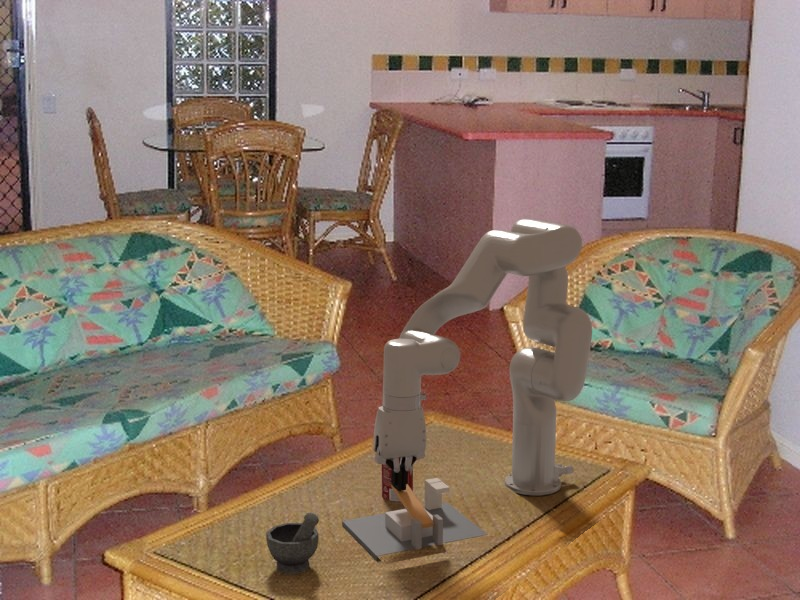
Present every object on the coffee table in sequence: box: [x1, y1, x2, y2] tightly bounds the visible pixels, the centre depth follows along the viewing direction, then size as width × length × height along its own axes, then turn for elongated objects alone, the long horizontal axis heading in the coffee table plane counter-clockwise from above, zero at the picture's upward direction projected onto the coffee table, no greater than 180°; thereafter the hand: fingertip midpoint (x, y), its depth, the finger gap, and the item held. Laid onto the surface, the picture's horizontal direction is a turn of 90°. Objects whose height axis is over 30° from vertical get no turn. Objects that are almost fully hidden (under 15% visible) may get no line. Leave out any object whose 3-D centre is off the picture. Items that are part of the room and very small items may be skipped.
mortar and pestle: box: [265, 512, 320, 575], centre depth 217 cm, size 11×9×12 cm
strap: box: [391, 484, 434, 529], centre depth 231 cm, size 3×14×1 cm, turn 24°
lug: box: [424, 477, 450, 510], centre depth 241 cm, size 3×6×6 cm, turn 24°
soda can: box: [381, 458, 414, 502], centre depth 249 cm, size 7×7×12 cm
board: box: [341, 501, 488, 563], centre depth 233 cm, size 24×18×6 cm
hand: (399, 488), depth 234 cm, fingers closed
